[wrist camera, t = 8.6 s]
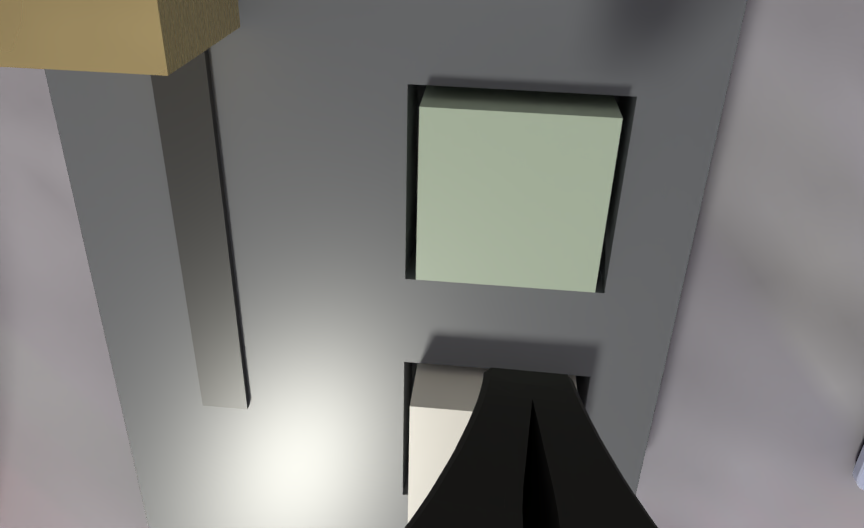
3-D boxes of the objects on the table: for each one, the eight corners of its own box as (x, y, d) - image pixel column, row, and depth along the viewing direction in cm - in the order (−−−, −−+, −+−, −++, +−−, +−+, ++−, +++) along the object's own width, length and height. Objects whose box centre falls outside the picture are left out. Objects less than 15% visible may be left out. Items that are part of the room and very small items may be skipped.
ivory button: (573, 360, 19) (581, 420, 17) (556, 473, 21) (561, 539, 19) (420, 349, 20) (409, 406, 18) (417, 461, 22) (407, 525, 20)
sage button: (609, 85, 17) (622, 118, 15) (586, 244, 19) (595, 292, 17) (430, 75, 17) (418, 107, 15) (426, 233, 19) (416, 279, 17)
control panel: (807, -515, 13) (891, -616, 10) (605, 501, 24) (616, 586, 22) (11, -515, 14) (-118, -608, 11) (187, 464, 25) (147, 540, 23)
